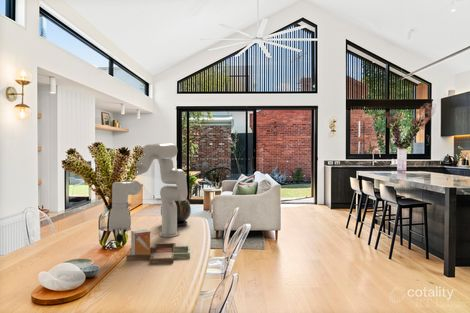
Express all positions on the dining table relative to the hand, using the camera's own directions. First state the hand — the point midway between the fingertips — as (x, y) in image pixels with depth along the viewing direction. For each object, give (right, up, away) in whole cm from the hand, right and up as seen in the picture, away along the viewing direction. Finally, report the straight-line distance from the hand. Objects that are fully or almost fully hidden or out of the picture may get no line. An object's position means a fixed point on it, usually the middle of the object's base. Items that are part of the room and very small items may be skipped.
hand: (119, 242), depth 170 cm
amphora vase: (+16, -6, +73) cm, 75 cm away
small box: (+10, -8, +2) cm, 13 cm away
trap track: (+19, -8, +3) cm, 21 cm away
